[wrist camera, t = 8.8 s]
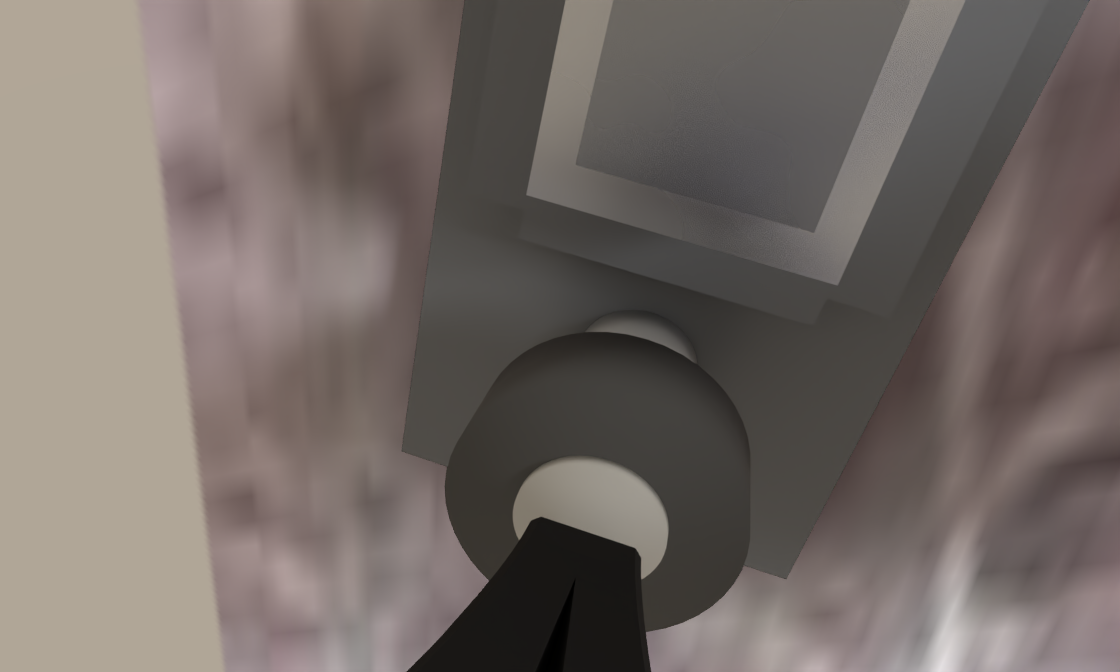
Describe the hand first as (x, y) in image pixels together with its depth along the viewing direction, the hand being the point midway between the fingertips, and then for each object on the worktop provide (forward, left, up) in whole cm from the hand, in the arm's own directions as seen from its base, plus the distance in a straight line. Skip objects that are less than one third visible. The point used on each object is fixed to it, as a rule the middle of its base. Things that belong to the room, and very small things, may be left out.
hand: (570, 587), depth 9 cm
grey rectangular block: (0, -7, -6) cm, 9 cm away
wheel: (0, 0, -3) cm, 3 cm away
